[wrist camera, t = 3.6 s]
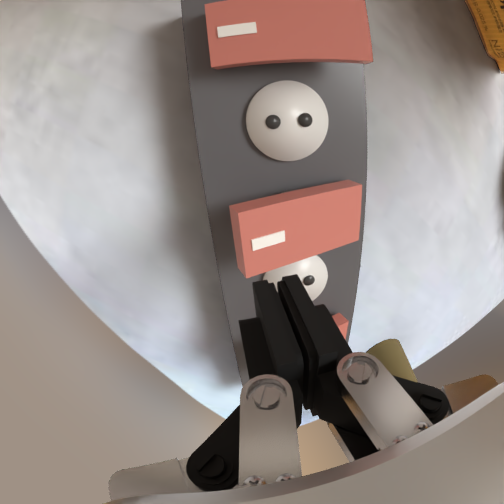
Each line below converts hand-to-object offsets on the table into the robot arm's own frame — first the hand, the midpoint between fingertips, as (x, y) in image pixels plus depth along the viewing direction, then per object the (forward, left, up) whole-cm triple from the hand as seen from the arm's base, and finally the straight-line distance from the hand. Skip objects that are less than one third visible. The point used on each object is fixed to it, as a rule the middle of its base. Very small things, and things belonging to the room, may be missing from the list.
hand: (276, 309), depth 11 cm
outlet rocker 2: (-1, +2, -7) cm, 7 cm away
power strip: (-1, +3, -10) cm, 11 cm away
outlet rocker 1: (-11, +3, -7) cm, 14 cm away
